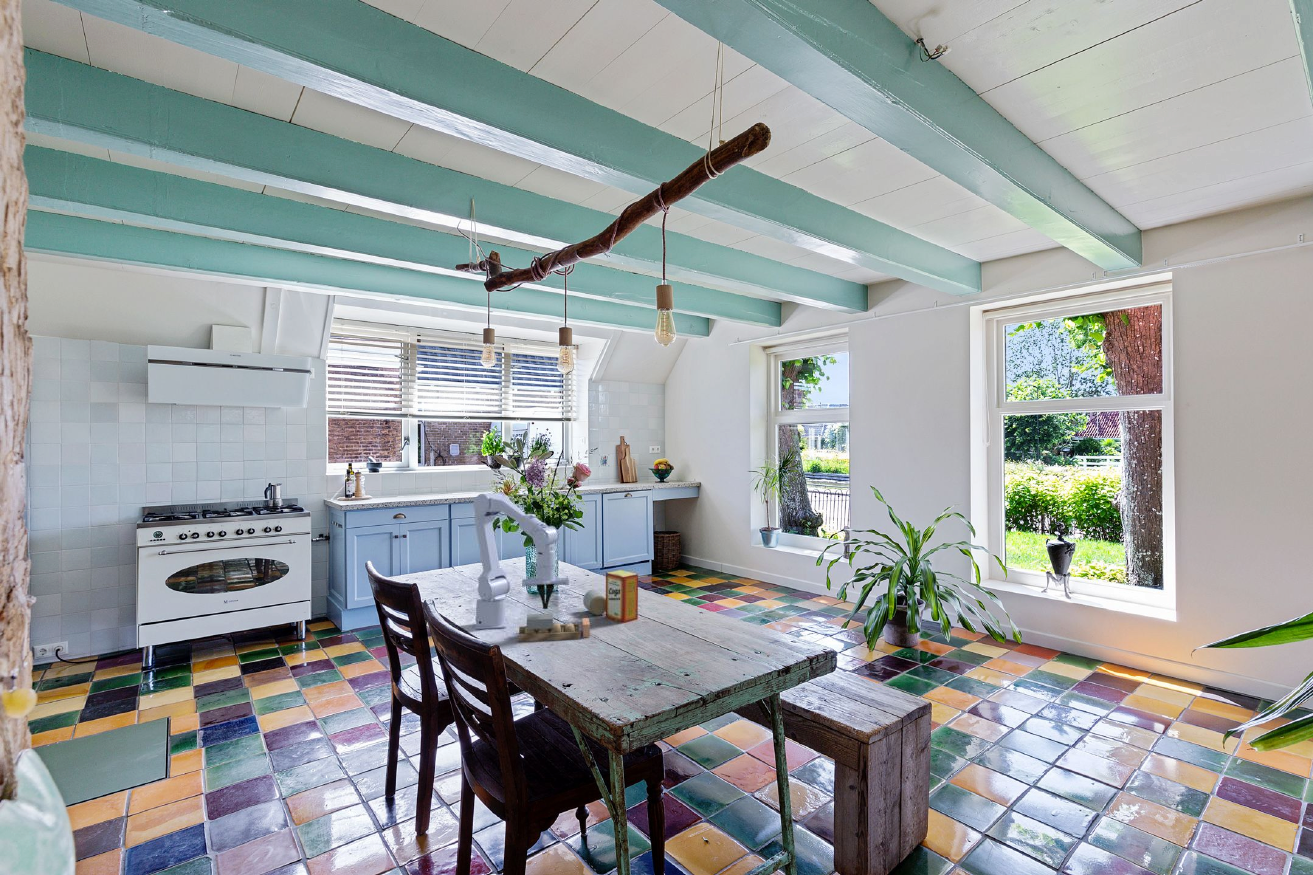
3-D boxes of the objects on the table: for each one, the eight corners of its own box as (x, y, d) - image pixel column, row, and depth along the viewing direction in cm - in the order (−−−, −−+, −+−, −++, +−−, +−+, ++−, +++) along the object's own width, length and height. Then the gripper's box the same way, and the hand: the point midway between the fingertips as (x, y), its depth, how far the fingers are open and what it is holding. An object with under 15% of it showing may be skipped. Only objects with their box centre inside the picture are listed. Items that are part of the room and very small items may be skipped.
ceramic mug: (589, 617, 220) (589, 595, 220) (582, 611, 228) (583, 589, 228) (617, 614, 225) (618, 593, 225) (610, 608, 232) (610, 587, 232)
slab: (526, 629, 196) (526, 619, 196) (527, 623, 202) (527, 614, 202) (552, 628, 197) (552, 618, 197) (552, 622, 203) (552, 613, 203)
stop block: (583, 637, 199) (583, 624, 199) (581, 630, 206) (582, 618, 206) (589, 636, 199) (589, 624, 199) (588, 630, 206) (588, 617, 206)
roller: (575, 637, 199) (575, 627, 199) (566, 638, 198) (565, 628, 198) (574, 631, 205) (574, 622, 205) (565, 632, 204) (564, 623, 204)
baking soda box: (605, 617, 221) (605, 571, 221) (619, 613, 225) (620, 568, 225) (623, 623, 214) (623, 576, 214) (637, 619, 218) (638, 573, 218)
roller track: (518, 641, 194) (518, 631, 194) (519, 632, 203) (519, 622, 203) (580, 638, 197) (580, 628, 197) (578, 629, 206) (578, 619, 206)
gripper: (522, 568, 195) (521, 612, 195) (569, 567, 197) (569, 610, 198) (522, 563, 202) (521, 606, 202) (568, 562, 204) (567, 604, 204)
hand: (545, 608), depth 200 cm, fingers closed
